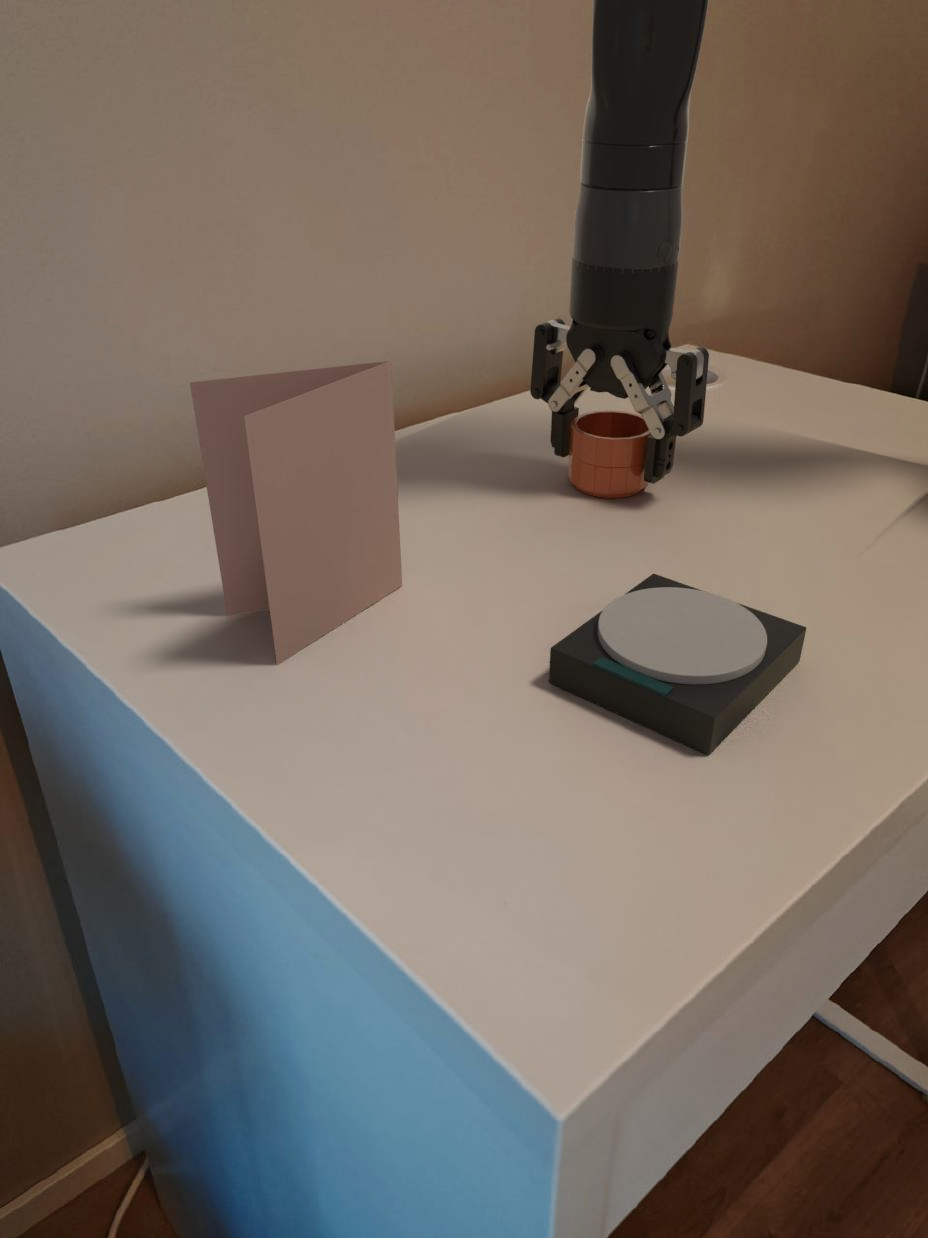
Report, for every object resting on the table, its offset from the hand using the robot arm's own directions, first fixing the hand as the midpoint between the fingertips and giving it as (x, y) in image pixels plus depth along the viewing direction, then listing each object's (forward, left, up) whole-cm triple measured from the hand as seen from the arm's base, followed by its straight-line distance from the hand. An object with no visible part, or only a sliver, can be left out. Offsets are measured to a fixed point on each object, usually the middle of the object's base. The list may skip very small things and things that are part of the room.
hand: (608, 466), depth 77 cm
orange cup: (0, 0, -1) cm, 1 cm away
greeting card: (+29, -2, -2) cm, 29 cm away
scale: (+20, +18, -1) cm, 27 cm away
